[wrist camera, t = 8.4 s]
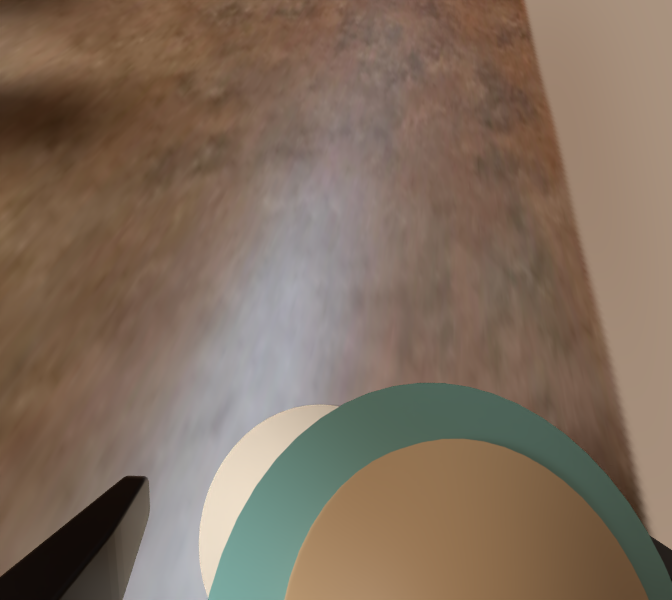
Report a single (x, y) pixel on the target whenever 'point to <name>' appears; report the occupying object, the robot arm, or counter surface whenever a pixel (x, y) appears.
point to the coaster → (246, 479)
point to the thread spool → (437, 510)
